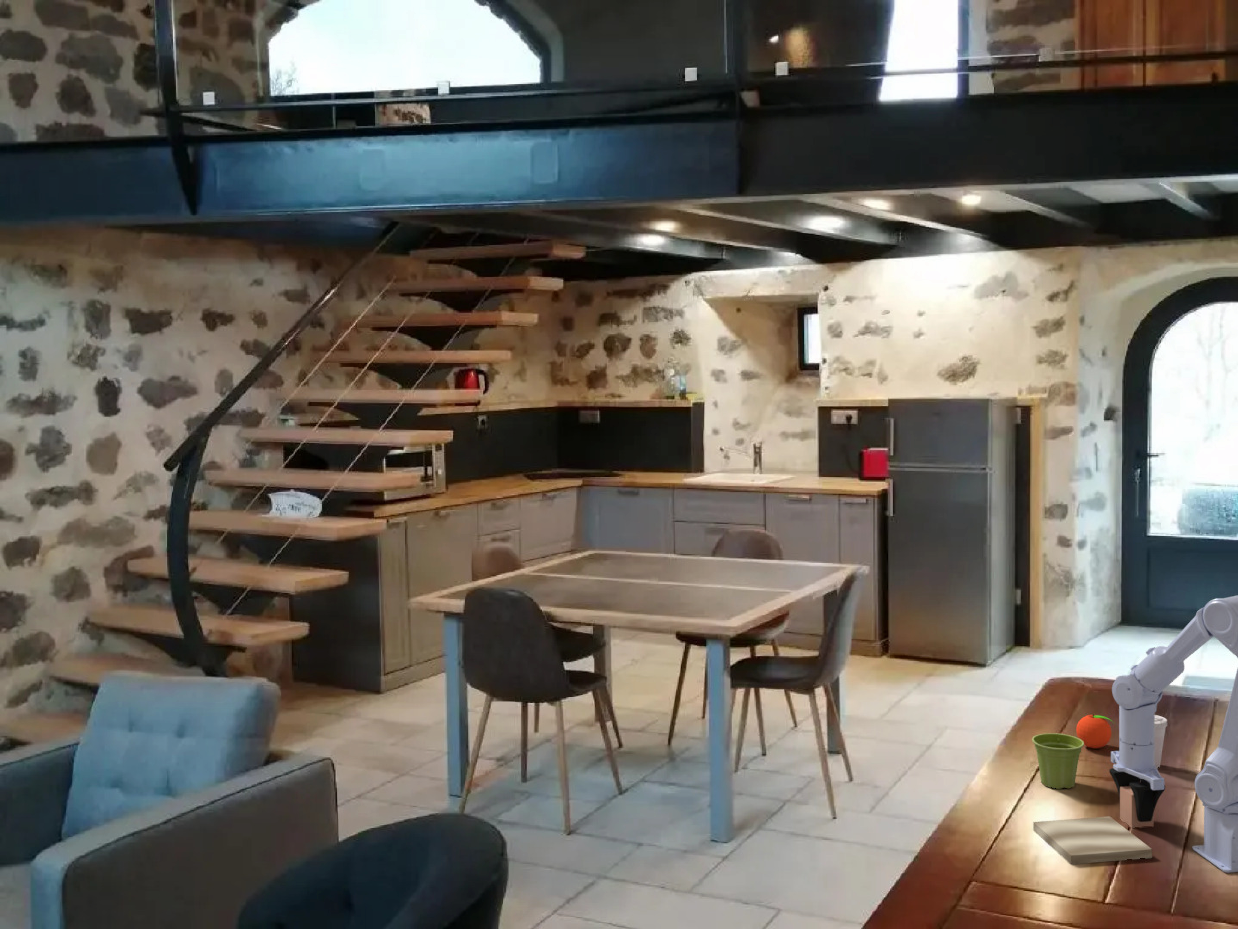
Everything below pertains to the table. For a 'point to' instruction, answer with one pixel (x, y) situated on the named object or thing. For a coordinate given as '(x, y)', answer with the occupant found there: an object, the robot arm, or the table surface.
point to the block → (1130, 808)
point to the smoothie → (1159, 738)
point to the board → (1091, 840)
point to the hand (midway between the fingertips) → (1136, 815)
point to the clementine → (1094, 731)
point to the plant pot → (1057, 758)
